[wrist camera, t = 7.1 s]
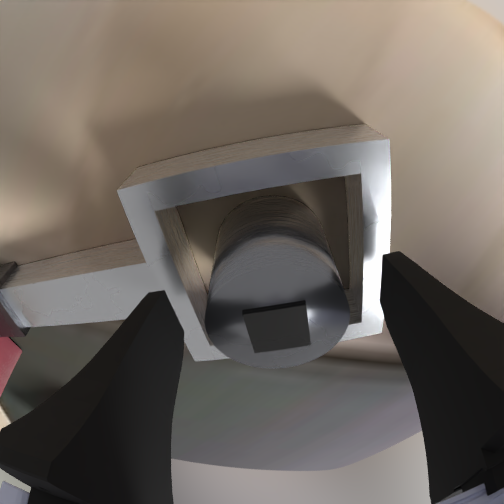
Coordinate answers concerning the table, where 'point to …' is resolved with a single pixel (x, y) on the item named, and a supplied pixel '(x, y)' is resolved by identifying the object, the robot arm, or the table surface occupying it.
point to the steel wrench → (177, 246)
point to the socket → (274, 286)
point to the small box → (7, 359)
